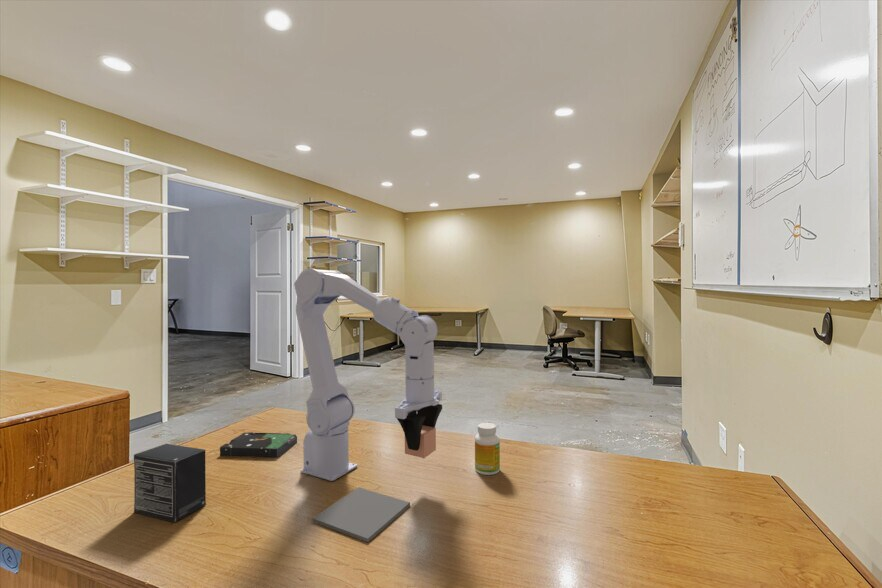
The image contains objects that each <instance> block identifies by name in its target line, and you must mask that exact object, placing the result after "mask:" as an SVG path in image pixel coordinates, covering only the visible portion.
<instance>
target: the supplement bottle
mask: <svg viewBox="0 0 882 588" xmlns="http://www.w3.org/2000/svg"><path fill="white" fill-rule="evenodd" d="M500 443H501V442H500V436H499V435H498V434H497V425H496V424H495V423H492V422H491V423H490V422H481V423H479V424H478V425H477V434H476V435H475V437H474V470H475V472H477V473H478V474H480V475H485V476H492V475H496V474H498V473H499V472H500V470H501V469H500V468H501V464H500V463H501V462H500V460H501V457H500V456H501V455H500V454H501V452H500V451H501V448H500V446H501V445H500Z"/></svg>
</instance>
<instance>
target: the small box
mask: <svg viewBox="0 0 882 588" xmlns="http://www.w3.org/2000/svg"><path fill="white" fill-rule="evenodd" d="M133 463H134V464H133V465H134V470H133V471H134V478H133V479H134V497H133V498H134V500H133V502H134V505H133V508H134V509H133V513H136V514H139V515H142V516H143V515H144V516H147V517H152V518H155V519H159V520H164V521H167V522H172V523H176V522H178V521H180V520H181V519H184V518H186V517H187V516H189V515H190V514H193V513H194V512H196V511H198V510H199V509H202V508H204V507H205V506H207V503H206V502H207V501H206V499H207V498H206V497H207V495H206V492H207V491H206V490H207V489H206V488H207V487H206V482H207V481H206V449H204V448H197V447H190V446H183V445H178V444H177V445H176V444H170V443H164V444H161V445H158V446H155V447H152V448H149V449H147V450H143V451H140V452H138V453H134V455H133Z"/></svg>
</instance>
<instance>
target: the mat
mask: <svg viewBox="0 0 882 588" xmlns="http://www.w3.org/2000/svg"><path fill="white" fill-rule="evenodd" d="M410 506H411V502H410V501H407V500H403V499H401V498H397V497H393V496H389V495H386V494H382V493H379V492H376V491H372V490H368V489H366V488H362V487H357V488H356V489H354V490H352V491H351V492H349V493H348V494H347V495H345V496H343V497H342V498H341V499H338V501H336V502H334V503H333V504H331V505H330V506H328V507H327V508H325V509H324V510H322V511H321V512H319V513H317V514H316V515H315V516H313V517H312V518H311V522H313V523H314V524H316V525H317V524H318V525H321V526H322V527H326V528H327V529H331V530H333V531H336V532H339V533H342V534H344V535H347V536H350V537H352V538H355V539H357V540H359V541H363V542H365V543H369V542H370V541H371V540H372V539H373V538H375V537H376V536H377V535H378V534H379V533H381V531H383V530H384V529H385V528H387V526H389V524H391V523H392V522H393V521H394V520H395V519H397V518H398V517H399V516H400V515H401V514H403V513H404V511H406V510H407V509H408V508H410Z"/></svg>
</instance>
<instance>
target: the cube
mask: <svg viewBox="0 0 882 588" xmlns="http://www.w3.org/2000/svg"><path fill="white" fill-rule="evenodd" d="M436 429H437V428H436V426H435V427H429V426H423V425H422V429H421V438H420V446H419V450H417V451H416V450H411V449H408V445H407V441H406V437H405V436H404V454H405V455H408V456H414V457H416V458H417V457H418V458H422V459H426V457H428V456H429V455H431V454H432V453H433V452H435V451H437V448H436V447H437V445H436V444H437V439H436V438H437V435H436V434H437V431H436Z"/></svg>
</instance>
